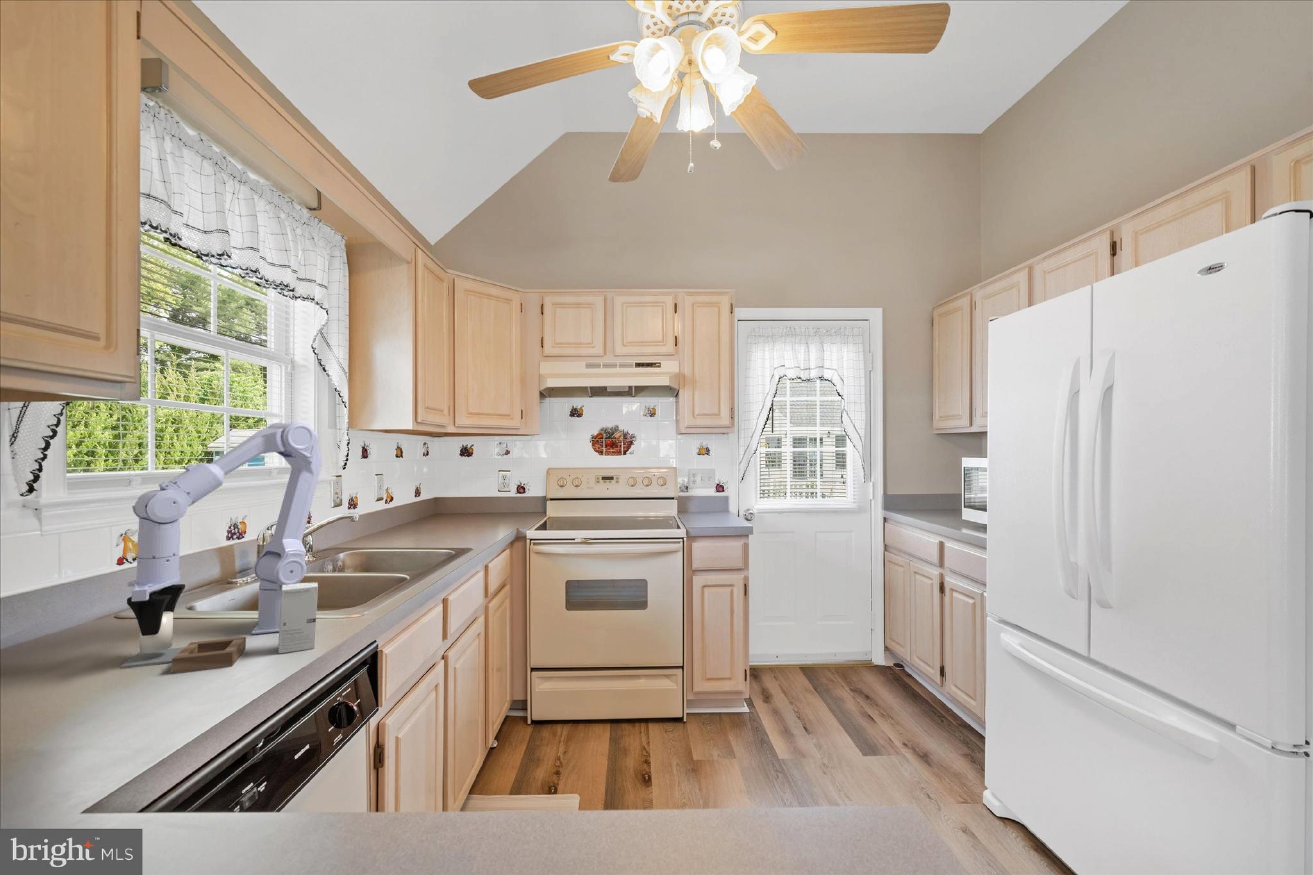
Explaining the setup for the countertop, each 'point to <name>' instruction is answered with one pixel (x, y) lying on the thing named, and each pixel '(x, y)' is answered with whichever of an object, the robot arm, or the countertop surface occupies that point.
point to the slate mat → (152, 658)
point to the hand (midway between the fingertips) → (156, 630)
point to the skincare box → (297, 617)
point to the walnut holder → (209, 654)
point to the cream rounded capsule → (159, 636)
